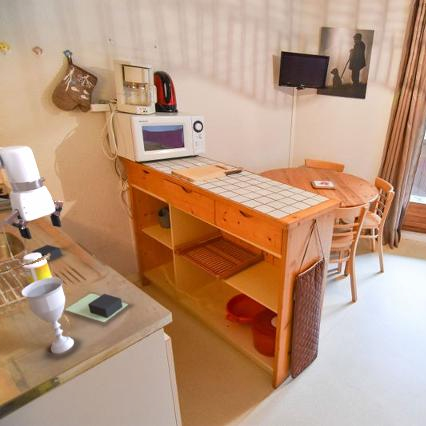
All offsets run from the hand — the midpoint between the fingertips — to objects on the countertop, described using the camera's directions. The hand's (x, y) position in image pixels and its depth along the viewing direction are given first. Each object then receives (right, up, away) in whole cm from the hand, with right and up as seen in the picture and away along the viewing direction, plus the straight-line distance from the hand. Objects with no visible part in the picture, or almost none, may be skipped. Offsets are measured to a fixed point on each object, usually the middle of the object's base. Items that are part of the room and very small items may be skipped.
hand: (42, 232), depth 109 cm
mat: (+32, -21, -19) cm, 43 cm away
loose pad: (-1, -9, +3) cm, 10 cm away
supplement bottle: (+9, -16, -10) cm, 21 cm away
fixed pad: (+35, -21, -20) cm, 46 cm away
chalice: (+33, -27, -32) cm, 53 cm away
